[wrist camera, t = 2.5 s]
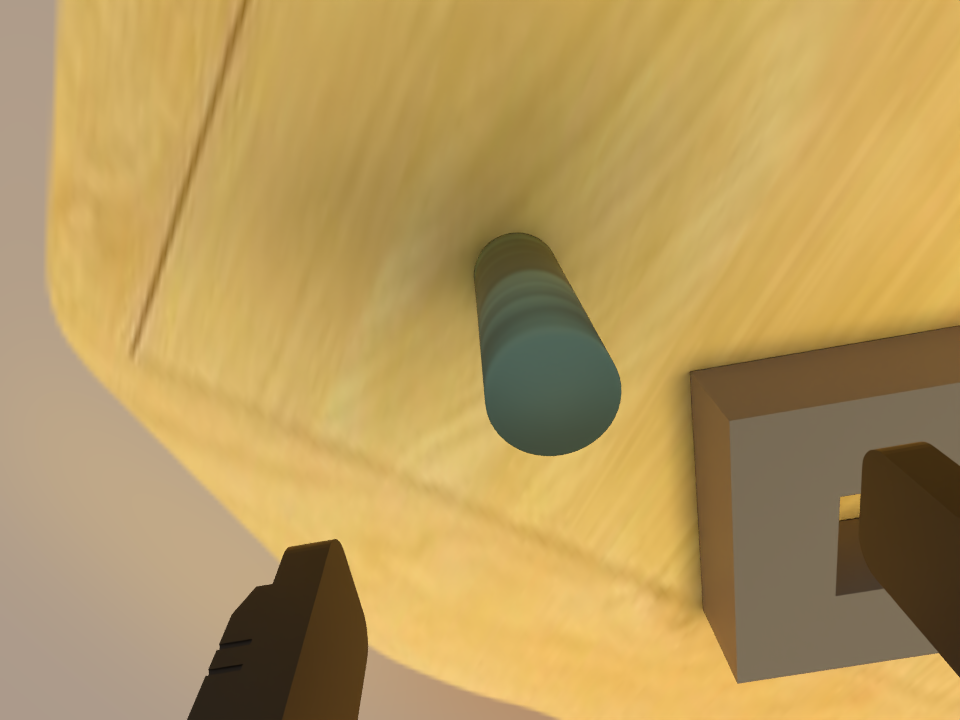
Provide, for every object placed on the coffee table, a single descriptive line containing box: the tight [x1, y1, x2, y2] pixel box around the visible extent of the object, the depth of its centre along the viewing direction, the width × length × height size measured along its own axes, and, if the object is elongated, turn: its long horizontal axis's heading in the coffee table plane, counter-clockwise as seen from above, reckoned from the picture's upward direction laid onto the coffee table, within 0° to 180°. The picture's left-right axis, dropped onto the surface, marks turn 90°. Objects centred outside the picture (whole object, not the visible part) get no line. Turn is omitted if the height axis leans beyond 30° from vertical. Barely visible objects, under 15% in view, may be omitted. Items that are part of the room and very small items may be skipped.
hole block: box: [690, 326, 960, 684], centre depth 26 cm, size 12×12×4 cm
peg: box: [474, 233, 621, 456], centre depth 19 cm, size 3×3×10 cm
